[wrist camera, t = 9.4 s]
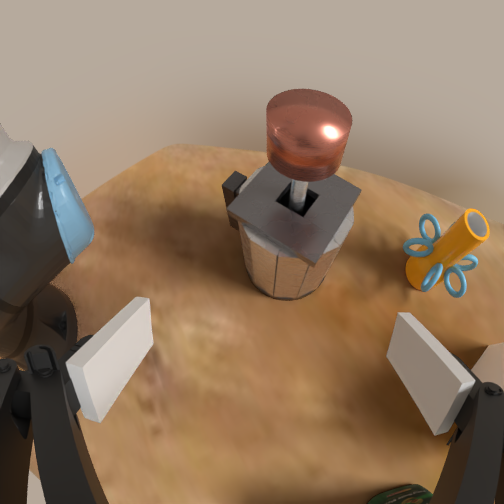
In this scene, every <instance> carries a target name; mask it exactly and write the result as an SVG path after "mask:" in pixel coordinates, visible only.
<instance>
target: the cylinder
mask: <svg viewBox="0 0 504 504" xmlns="http://www.w3.org/2000/svg"><path fill="white" fill-rule="evenodd" d="M427 219H428V220H430V221H431V222H432V223H433V225H434V228H435V237H434V238H433V239H431V238H429V237H428V236H427V234H426V232H425V229H424V222H425V220H427ZM419 230H420V233H421V236H422V238H412V239H409V240H407V241H406V242H405V243H404V244H403V250H404V252H405V253H406V254H408V255H410V257H409V259H408V260H407V263H406V267H405V271H406V276H407V279H408V281H409V282H410V284H411V285H412V286H413V287H414V288H416V289H418V290H421V291H423V292H426V291H428V290H430V289H432V288H434V287H435V286H437V285H438V284H440V283H441V282H443V281H444V284H445V287H446V289H447V291H448V292H449V294H450V295H452V296H453V297H456V298H459V297H461V296H463V294H464V293H465V291H466V279H465V276H464V274H463V272H462V271H469V270H472V269H474V268H475V267H476V266H477V265H478V260H477V258H476V257H475V256H473V255H470V254H469V253H470V252H471V251H473V250H474V249H475V248H477V247H478V246H479V245H480V244H481V243H483V242H484V241H485V240H486V239H487V238H488V237H489V233H490V230H489V225H488V223H487V220H486V219H485V217H484V216H483V215H482V214H481V213H480V212H479V211H477V210H475V209H468V210H466V212H465V213H464V214H463V215H462V216H461V217H460V218H459V219H458V220H457V221H456V222H454V223H453V224H452V225H451V226H450V227H449V229H448V230H447V231H446V232H445V233H444V234H443V235H442V236H441V237H440V233H441V232H440V226H439V223H438V221H437V220H436V218H435V217H434V216H433V215H431V214H424V215H422V217H421V218H420V221H419ZM414 244H421V245H422V246H421V247H420V248H419V249H418V250H416V251H413V250H411V249H409V246H411V245H414ZM460 260H470V261H472V262H473V263H472V264H470V265H465V266H462V265H458V264H456V263H457V262H459V261H460ZM451 272H454V273H456V274H457V275H458V277H459V279H460V282H461V289H460V291H459V292H456V291H454V290H453V289H452V287H451V285H450V282H449V275H450V273H451Z"/></svg>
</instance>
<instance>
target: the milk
mask: <svg viewBox="0 0 504 504" xmlns="http://www.w3.org/2000/svg"><path fill="white" fill-rule="evenodd" d="M471 371H472V372H473V373H474V374H475V375H476V376H477V377H478V378H479V379H480V381H481V382H482V383H484V382H492V383H495V384H497V385H499V386H500V387H501V388H502V389H503V391H504V342H503V343H498V344H493V345H489V346H488V347H487V348H486V350H485V351H484V353H483V354H482V356H481V357H480V358H479V360H478V361H477V363H476V364H475V365H474V367H473V368H472V369H471Z"/></svg>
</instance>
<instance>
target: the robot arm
mask: <svg viewBox="0 0 504 504" xmlns="http://www.w3.org/2000/svg"><path fill="white" fill-rule="evenodd" d="M93 237H94V226H93V223H92V220H91V218H90V216H89V214H88V212H87V210H86V208H85V206H84V204H83V202H82V200H81V198H80V196H79V194H78V192H77V190H76V188H75V186H74V184H73V182H72V180H71V178H70V177H69V174H68V173H67V171H66V169H65V167H64V165H63V163H62V161H61V160H60V158H59V157H58V155H57V154H56V151H55V150H54V149H53V148H49V149H47V150H43V151H42V154H40V153H38V151H37V150H36V149H35V147H34V146H33V144H32V143H31V142H30V141H13V140H12V139H11V138H9V136H8V135H7V133H6V132H5V130H4V129H3V127H2V126H1V124H0V357H3V359H0V504H27V488H28V486H27V485H28V474H29V466H30V457H31V450H32V443H33V437H34V445H35V452H36V459H37V465H38V470H39V475H40V480H41V485H42V489H43V493H44V497H45V501H46V504H109V503H108V501H107V499H106V496H105V494H104V492H103V489H102V487H101V485H100V482H99V480H98V477H97V475H96V472H95V469H94V467H93V464H92V461H91V458H90V455H89V453H88V450H87V446H86V443H85V440H84V437H83V434H82V430H81V427H80V423H79V419H78V417H77V414H76V413H77V412H78V410H79V409H80V408H81V410H82V412H83V415H84V417H85V418H87V419H89V420H92V421H95V422H98V423H101V422H102V420H103V418H104V417H105V415H106V414H107V412H108V411H109V409H110V408H111V406H112V405H113V403H114V402H115V400H116V399H117V397H118V396H119V394H120V392H121V391H122V389H123V388H124V386H125V385H126V383H127V382H128V380H129V379H130V377H131V376H132V374H133V373H134V371H135V370H136V369H137V367H138V366H139V364H140V363H141V361H142V360H143V358H144V357H145V355H146V354H147V352H148V351H149V349H150V348H151V346H152V345H153V336H152V325H151V314H150V301H149V298H143V297H135V298H134V299H133V300H132V301H131V302H130V303H129V304H128V305H126V306H125V307H124V308H123V309H122V310H121V311H120V312H119V313H118V314H117V315H115V316H114V317H113V318H112V319H111V320H110V321H109V322H108V323H107V324H106V325H105V326H104V327H102V328H101V329H100V330H99V331H98V332H97V333H96V334H95V335H88V336H86V337H84V338H82V339H80V340H79V341H78V342H77V343H76V341H77V318H76V313H75V310H74V307H73V305H72V303H71V301H70V299H69V298H68V296H67V295H66V294H65V293H64V292H63V291H61V290H60V289H58V288H56V287H55V286H53V285H51V284H48V283H49V282H51V281H52V280H53V279H54V278H55V277H56V276H57V275H58V274H59V273H60V272H61V271H62V270H63V269H64V268H65V267H66V266H67V265H68V264H69V263H71V264H72V263H74V261H75V258H76V257H77V256H78V255H79V254H80V253H81V252H82V251H83V250H84V249H85V248H86V247H87V246H88V245H89V244H90V243H91V242H92V240H93ZM386 357H387V358H388V360H389V361H390V363H391V364H392V366H393V368H394V369H395V371H396V372H397V374H398V375H399V377H400V379H401V380H402V382H403V383H404V385H405V387H406V388H407V390H408V392H409V393H410V395H411V397H412V398H413V400H414V402H415V403H416V405H417V407H418V408H419V410H420V412H421V413H422V415H423V417H424V418H425V420H426V422H427V424H428V425H429V427H430V429H431V430H432V432H433V434H434V435H438V434H442V433H446V432H448V431H449V429H450V428H451V426H452V424H453V423H454V421H455V423H456V424H457V426H458V427H457V429H456V430H455V432H454V434H453V435H452V437H451V438H450V440H449V441H448V443H447V445H449V444H450V442H451V445H450V449H449V452H448V455H447V458H446V461H445V464H444V467H443V470H442V473H441V476H440V478H439V481H438V483H437V486H436V488H435V491H434V493H433V496H432V498H431V500H430V503H429V504H494V499H495V504H504V391H503V389H502V388H501V387H500V386H499V385H497V384H495V383H492V382H484V383H482V382H481V381H480V379H479V378H478V377H477V376H476V375H475V374H474V373H473V372H472V371H471V370H470V369H468V367H467V366H466V365H465V364H464V362H463V361H462V360H461V359H460V358H459V357H457V356H455V355H454V354H452V353H450V352H449V351H448V350H447V349H446V348H445V347H444V346H443V345H442V344H441V343H440V342H439V341H438V340H437V339H436V338H435V337H434V336H433V335H432V334H431V333H430V332H429V331H428V330H427V329H426V328H425V327H424V326H423V325H422V324H421V323H420V322H419V321H418V320H417V319H416V318H415V317H414V316H413V315H412V314H411V313H398V314H397V319H396V323H395V327H394V330H393V334H392V338H391V341H390V345H389V349H388V352H387V355H386ZM4 358H6V359H4ZM17 365H18V366H19V367H20V368H22V369H23V370H25V371H21V370H19V369H18V366H17Z"/></svg>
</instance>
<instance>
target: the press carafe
mask: <svg viewBox="0 0 504 504" xmlns="http://www.w3.org/2000/svg"><path fill="white" fill-rule="evenodd" d="M291 184H292V179H291V178H288V177H286V176H284V175H282V174H281V173H279V172H278V171H277V170H276V169H275V168H274V167H273V166H272V165H271V164H270V162H268V163H267V164H266V165H265V166H263V167H261V168H258V169H257V170H256V171H255V172H254V173H253V174H252V175H251V176H250V177H249V178H248V180H247V177H246V176H244V175H242V174H240V173H239V172H237V171H235V172H234V173H233V174H232V175H231V176H230V177H229V178H228V179H227V180H226V181H225V182H224V183H223V184H222V189H223V194H224V198H225V203H226V209H227V214H228V217H229V222H230V226H232V227H233V228H235V229H236V230H238V231H240V237H241V243H242V249H243V254H244V260H245V266H246V268H247V273H248V275H249V278H250V279H251V281H252V283H253V284H254V285H255V287H256V288H257V289H258V290H260V291H261V292H262V293H264V294H265V295H267V296H269V297H271V298H274V299H278V300H284V301H291V300H297V299H301V298H303V297H306V296H308V295H309V294H311V293H312V292H314V291H315V290H316V289H317V288H318V287H319V285H320V284H321V283H322V281H323V279H324V277H325V275H326V273H327V272H328V270H329V268H330V266H331V265H332V263H333V261H334V259H335V257H336V255H337V254H338V252H339V250H340V248H341V246H342V244H343V243H344V241H345V239H346V237H347V235H348V233H349V231H350V229H351V227H352V226H353V224H354V214H353V205H354V203H355V202H356V200H357V198H358V197H359V195H360V193H361V189H359V188H358V187H356V186H354V185H352V184H351V183H349V182H347V181H345V180H344V179H342V178H340V177H338V176H336V175H335V174H333V175H332V176H330V177H329V178H326V179H324V180H320V181H315V182H308V187H307V192H306V197H305V202H304V207H303V212H302V216H300V215H298V214H296V213H295V212H293V211H291V210H290V209H289V201H290V192H291Z"/></svg>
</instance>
